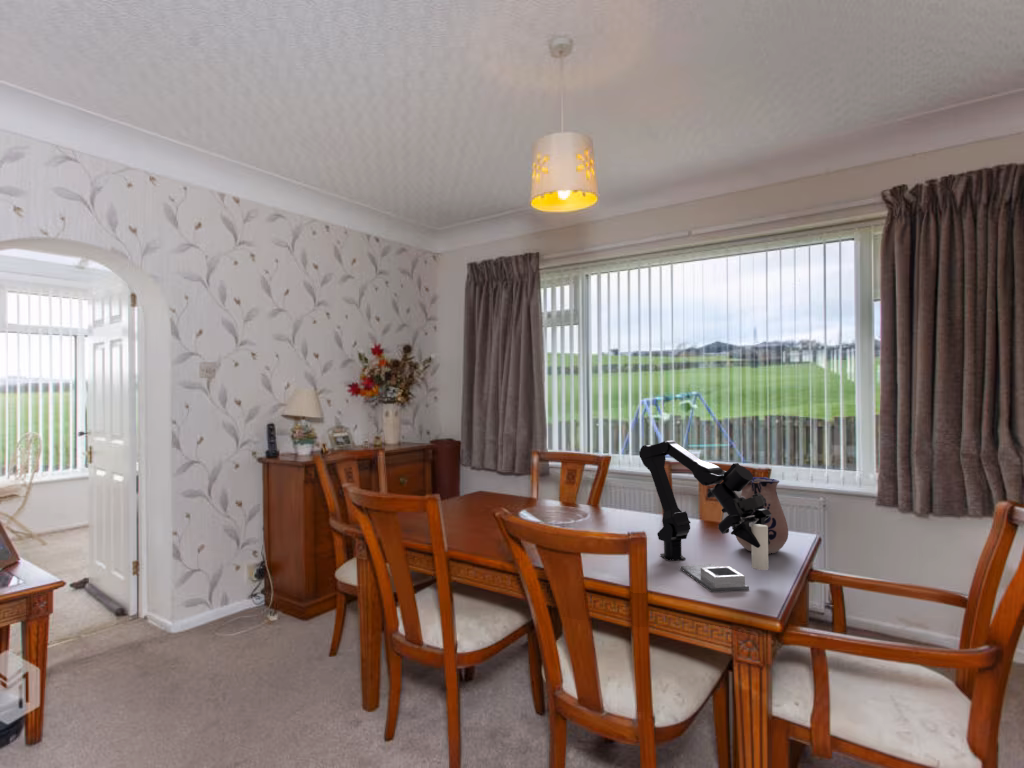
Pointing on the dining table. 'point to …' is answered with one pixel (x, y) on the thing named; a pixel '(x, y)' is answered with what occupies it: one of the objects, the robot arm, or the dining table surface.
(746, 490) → the ceramic pitcher
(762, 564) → the peg
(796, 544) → the dining table surface
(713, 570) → the socket
